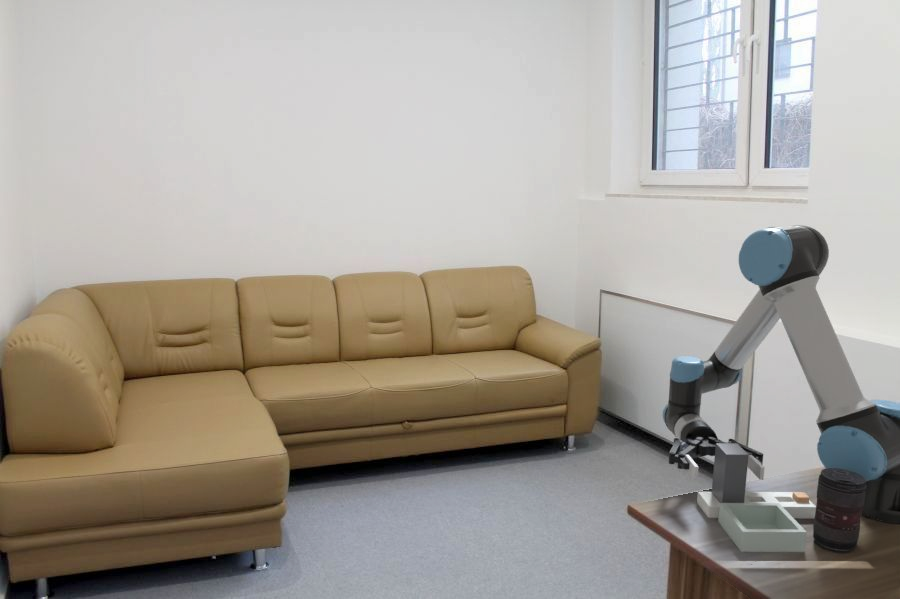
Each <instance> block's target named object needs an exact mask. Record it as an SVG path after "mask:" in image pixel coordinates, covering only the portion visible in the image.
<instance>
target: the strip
mask: <svg viewBox="0 0 900 599" xmlns="http://www.w3.org/2000/svg"><path fill="white" fill-rule="evenodd" d="M696 497H697V500H696V504H697V505H698V506H699V508H700V509H701V510H702V511H703V513H704V515H706V517H707V518H708V519H718V518H719V507H720V502H719V501H718V500H717V499H716V497H715V496H714V495H713V494H712V491H697V496H696ZM744 503H779V504H780V505H781V506H782V507H783V508H784V509H785V510H786V511H787V512H788V513H789V514H790V515H791V516H792V517H793V518H794V519H795V520H797V519H800V520H801V519H803V520H804V519H811V520H812V519H813V520H814V517H815V512H816V505H815V504H814V503H813V502H812V501H811V500H810V496H809V495H807V493H806V492H801V491H745V498H744Z"/></svg>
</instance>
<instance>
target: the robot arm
mask: <svg viewBox="0 0 900 599" xmlns="http://www.w3.org/2000/svg"><path fill="white" fill-rule="evenodd" d="M829 251H830V249H829V243H827V240H826V239H825V237H824V235H823V234H821V232H820V231H818V230H817V229H815V228H813V227H811V226H807V225H802V224H799V225H797V224H796V225H789V226H778V227H777V226H769V227H766V228H763V229H759V230H756V231H754V232H752V233H751V234H749V236H747V238H745V239H744V241H743V242H742V245H741V247H740V250H739V253H738V266H739V270H740V273H741V274H742V276H743V277H744V278H745V280H747V281H748V282H750V283H752V284H753V285H755V286H758V288H759V289H758V291H757V292H756V294H755V295H754V296H753V298H752V299H751V300H750V302H749V303H748V305H747V306H746V307H745V309H744V310H743V312H742V313H741V314H740V316H738V319H736V321H735V323H734V324H733V325H732V326H731V328H730V330H729V331H728V332H727V334H726V335H725V336H724V337H723V339H722V341H721V342H720V343H719V345H718V346H717V347H716V349H715V350H714V352H713V353H712V354H711V356H710V357H709V359H707V360H704V361H703V360H702V359H700V358H698V357H695V356H690V355H689V356H687V355H686V356H685V355H684V356H677V357H675V358H673V359H672V361H671V367H670V371H669V389H668V390H669V391H668V401H667V402H668V403H667V404H665V406H664V408H663V410H662V419H663V421H664V423H665V426H666V428H667V429H668V430H669V431H670V432H671V433H672V434H673V435H674V438H673V443H672V446H671V448H670V450H669V454H668V464H669V465H675V463H676V464H677V469H679V470H686V471H687V472H688V474H689V475H690V476H691V477H692V479H693V480H698V479H699V466H698V464H697V463H696V462H695V461H694V459H697V458H698V457H699V458H700V457H701V458H703V457H707V456H710V457H715V448H716V443H737V444H738V445H739V446H740V447H741V448H742V449H743V450H744V451H745V452H746V453H748V454H749V456H748V466H747V469H749V470H750V471H751V472H752V473H753V474H754V475H755V476H756V478H757V479H759V480H760V481H763V480H764V477H765V475H764V474H765V466H763V461H764V452H761V451H759V450H756V449H754V448H751V447H749V446H746V445H745V444H742V443H739V442H738V441H737V440H735V439H734V438H728V441H727V442H726V441H723V440H721V439H719V438H718V436H717V434H716V432H715V431H714V429H712V427H711V426H709V425H708V423H707V422H706V421H705V420H704V419H703V418H702V417H701V415H700V413H701V406H702V405H701V404H702V395H703V394H707V393H710V392H713V391H716V390H720V389H727V388H729V387H731V386H733V385H735V384H738V383H739V381H741V380H742V374H743V367H744V366H745V364H746V363H747V362H748V361H749V359H750V358H751V357H752V355H753V354H754V353H755V351H756V350H757V349H758V347H759V346H760V345H761V344H762V342H763V341H764V340H765V339H766V337H767V336H768V335H769V334H770V332H771V331H772V330H773V328H774V327H775V326H776V325H777V323H778V322H779V321H781V323H782V325H783V327H784V329H785V332H786V334H787V338H788V339H789V341H790V343H791V346H792V348H793V350H794V351H793V352H794V353H795V355H796V358H797V360H798V362H799V365H800V368H801V370H802V372H803V374H804V377H805V379H806V381H807V383H808V386H809V389H810V391H811V393H812V396H813V397H814V400H815V402H816V405H817V407H818V409H819V414H818V416H817V418H816V425H817V427H818V431H819V432H820V436H819V438H818V442H817V445H816V448H817V449H816V451H817V456H818V458H819V460H820V462H821V463H822V465H823V467H824V469H826V468H839V469H844V470H849V471H852V472H855V473H858V474H860V475H861V476H863V477H864V478H865V479H866V486H867V487H866V494H865V501H864V506H863V508H862V513H861V516H862V515H863V516H865V517H867V518H870V519H872V520H873V519H874V520H877V521H879V522H885V523H889V524H898V525H899V524H900V402H896V401H892V400H884V399H867V398H865V397H864V395H863V393H862V390H861V388H860V385H859V383H858V381H857V379H856V377H855V375H854V372H853V370H852V368H851V366H850V363H849V361H848V359H847V356H846V354H845V352H844V350H843V347H842V345H841V343H840V340H839V338H838V336H837V333H836V332H835V329H834V327H833V324H832V322H831V320H830V318H829V316H828V314H827V311H826V308H825V306H824V304H823V302H822V300H821V296H820V295H819V293H818V291H817V285H818V283H819V280H820V276H821V274H822V272H823V270H824V269H825V268H826V266H827V263H828V260H829V256H830V255H829V254H830V252H829Z"/></svg>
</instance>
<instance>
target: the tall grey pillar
mask: <svg viewBox="0 0 900 599" xmlns="http://www.w3.org/2000/svg"><path fill="white" fill-rule="evenodd" d="M748 456H749V454H748V453H746V452H745V451H744V450H743V449H742V448H741V447H740V446H739V445H738V444H737V443H716V448H715V456H714V462H713V471H712V482H711V492H712V494H713V495H714V496H715V497H716V499H717V500H718V501H719V502H720V503H744V498H745V492H746V487H747V486H746V484H747V476H748V475H747V473H748Z"/></svg>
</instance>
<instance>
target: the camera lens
mask: <svg viewBox="0 0 900 599" xmlns="http://www.w3.org/2000/svg"><path fill="white" fill-rule="evenodd" d="M866 487H867V486H866V479H865V478H864V477H863V476H861V475H860V474H858V473H855V472H852V471H849V470H844V469H839V468H823V469H821V471H820V474H819V475H818V480H817V489H816V499H817V500H816V505H815V506H816V512H815V517H814V519H813V524H812V525H813V526H812V527H813V528H812V530H813V532H812V535H813V536H812V537H813V540H814V542H815V543H816V545H817V546H818V547H820V548H822V549H823V550H826V551H830V552H833V553H837V554H849V553H851V552H854V549H856V547H857V546H858V545H857V544H858V541H859V538H860V532H861V523H862V522H861V520H862V514H861V513H862V508H863V506H864V501H865V494H866Z"/></svg>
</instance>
